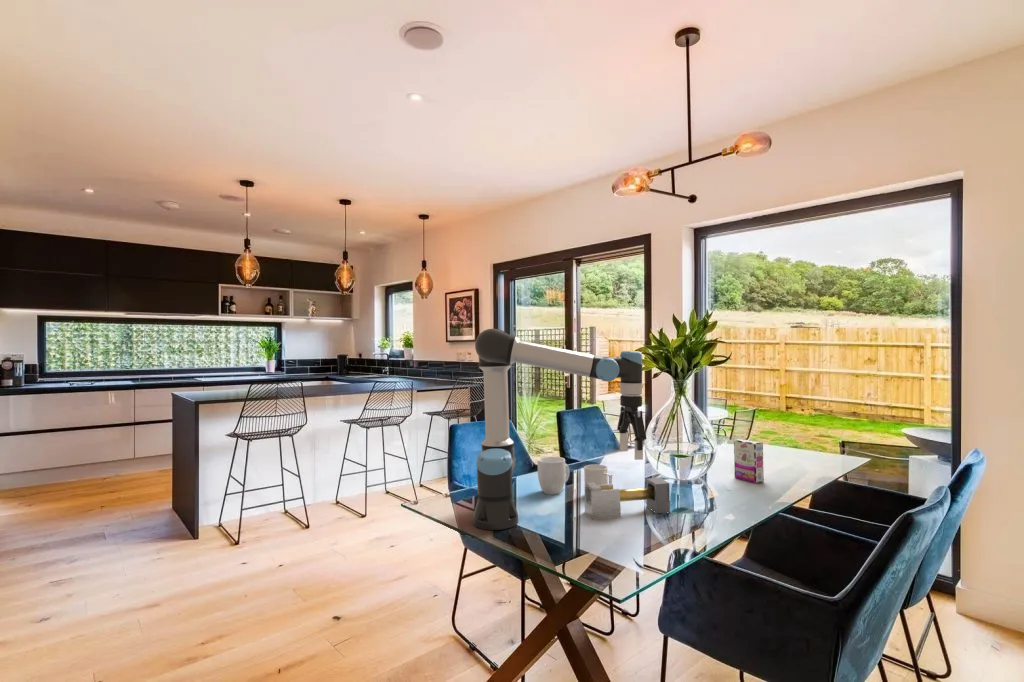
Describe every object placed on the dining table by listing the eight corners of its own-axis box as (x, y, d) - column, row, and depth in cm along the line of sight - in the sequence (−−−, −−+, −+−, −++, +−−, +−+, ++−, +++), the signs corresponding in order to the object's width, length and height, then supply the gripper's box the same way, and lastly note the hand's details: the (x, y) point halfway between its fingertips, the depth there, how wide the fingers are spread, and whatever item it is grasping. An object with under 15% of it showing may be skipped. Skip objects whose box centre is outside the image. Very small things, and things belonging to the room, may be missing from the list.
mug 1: (559, 485, 223) (558, 453, 223) (578, 490, 215) (577, 457, 215) (532, 492, 214) (531, 459, 214) (551, 498, 205) (550, 463, 205)
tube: (602, 504, 183) (602, 492, 183) (598, 501, 187) (598, 489, 187) (663, 499, 187) (663, 488, 187) (658, 496, 191) (657, 485, 191)
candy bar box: (764, 482, 220) (763, 442, 220) (755, 483, 218) (755, 443, 218) (742, 476, 231) (741, 438, 231) (733, 477, 229) (733, 439, 228)
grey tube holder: (592, 519, 180) (591, 489, 180) (584, 512, 188) (584, 482, 188) (620, 517, 182) (620, 486, 182) (612, 509, 190) (611, 480, 190)
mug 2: (579, 495, 207) (579, 467, 207) (595, 491, 213) (594, 463, 213) (603, 502, 198) (602, 472, 198) (619, 497, 204) (618, 468, 204)
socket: (656, 514, 184) (656, 484, 184) (646, 506, 192) (646, 478, 192) (670, 512, 185) (669, 483, 185) (659, 505, 193) (659, 477, 193)
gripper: (656, 398, 177) (656, 462, 177) (627, 391, 202) (627, 447, 202) (635, 399, 176) (634, 463, 176) (608, 391, 201) (608, 448, 201)
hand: (630, 455), depth 189 cm, fingers open, 13 cm apart
